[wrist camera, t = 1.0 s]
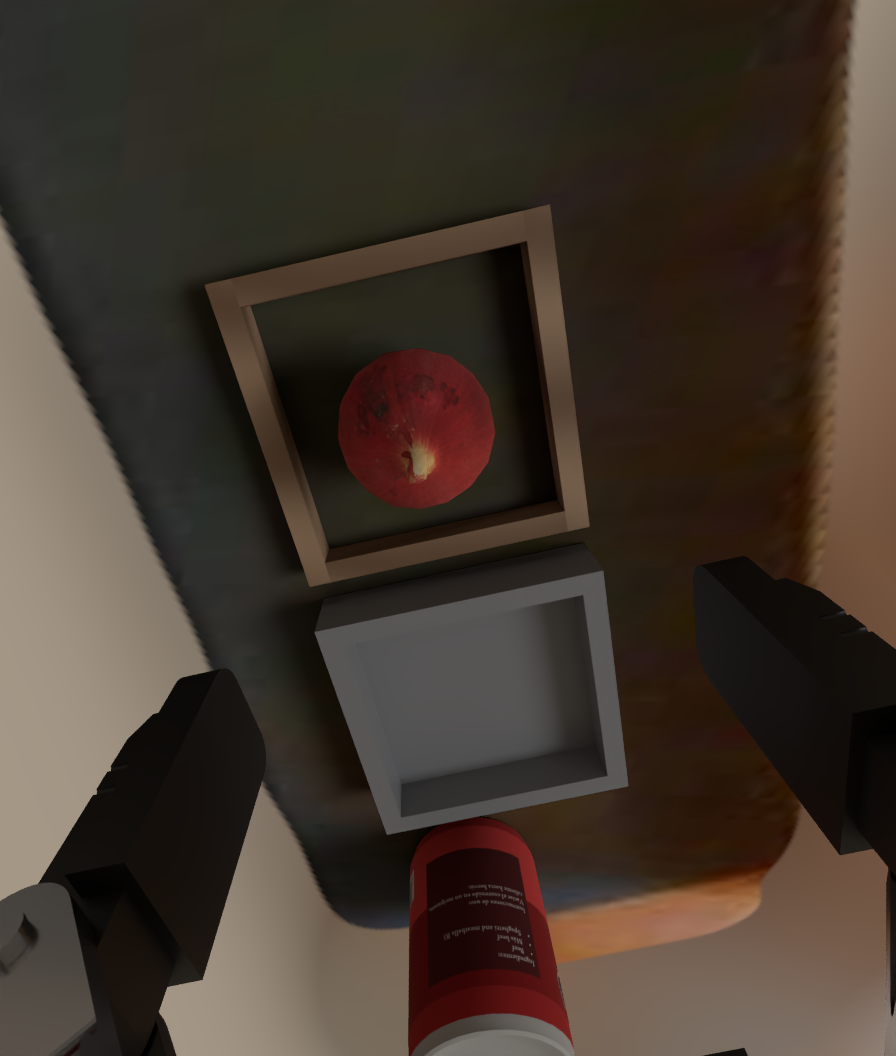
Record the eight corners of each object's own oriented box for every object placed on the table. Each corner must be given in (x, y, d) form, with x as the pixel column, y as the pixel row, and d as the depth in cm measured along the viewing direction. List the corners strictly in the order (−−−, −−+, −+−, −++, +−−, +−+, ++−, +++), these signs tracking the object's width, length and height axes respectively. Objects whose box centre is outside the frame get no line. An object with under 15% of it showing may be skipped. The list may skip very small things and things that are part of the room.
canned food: (463, 917, 38) (481, 1146, 28) (382, 855, 35) (370, 1083, 25) (557, 861, 36) (612, 1082, 26) (480, 792, 34) (508, 1008, 24)
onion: (320, 393, 24) (281, 439, 17) (431, 311, 23) (440, 322, 16) (402, 498, 26) (398, 579, 19) (507, 426, 25) (545, 483, 18)
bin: (324, 598, 28) (314, 632, 25) (584, 542, 28) (603, 570, 25) (389, 789, 33) (387, 834, 31) (610, 744, 33) (628, 786, 30)
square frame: (217, 285, 23) (204, 284, 21) (541, 209, 22) (549, 204, 21) (315, 572, 28) (309, 586, 26) (580, 514, 27) (589, 526, 26)
